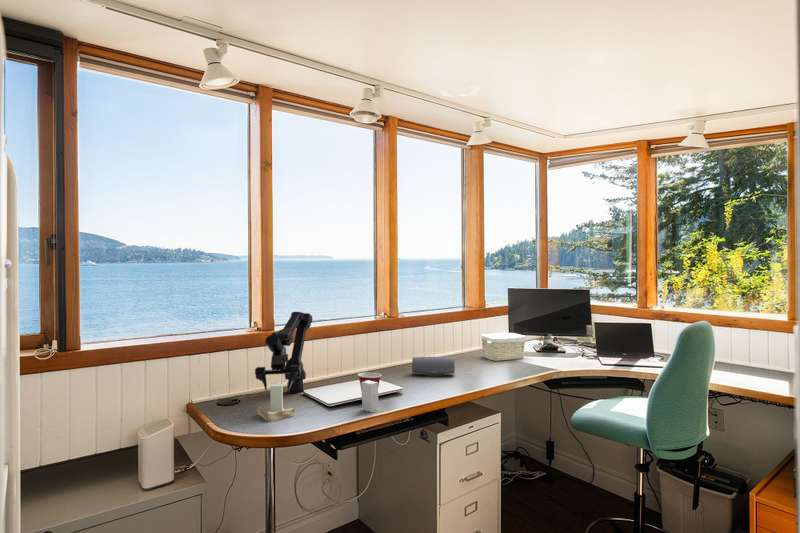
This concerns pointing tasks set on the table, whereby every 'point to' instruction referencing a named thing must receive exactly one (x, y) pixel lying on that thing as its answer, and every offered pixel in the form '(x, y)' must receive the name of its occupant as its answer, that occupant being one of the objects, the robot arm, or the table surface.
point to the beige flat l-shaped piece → (275, 414)
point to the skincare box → (370, 396)
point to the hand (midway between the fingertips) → (277, 389)
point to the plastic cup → (369, 377)
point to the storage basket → (503, 346)
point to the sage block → (276, 397)
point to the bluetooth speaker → (433, 365)
